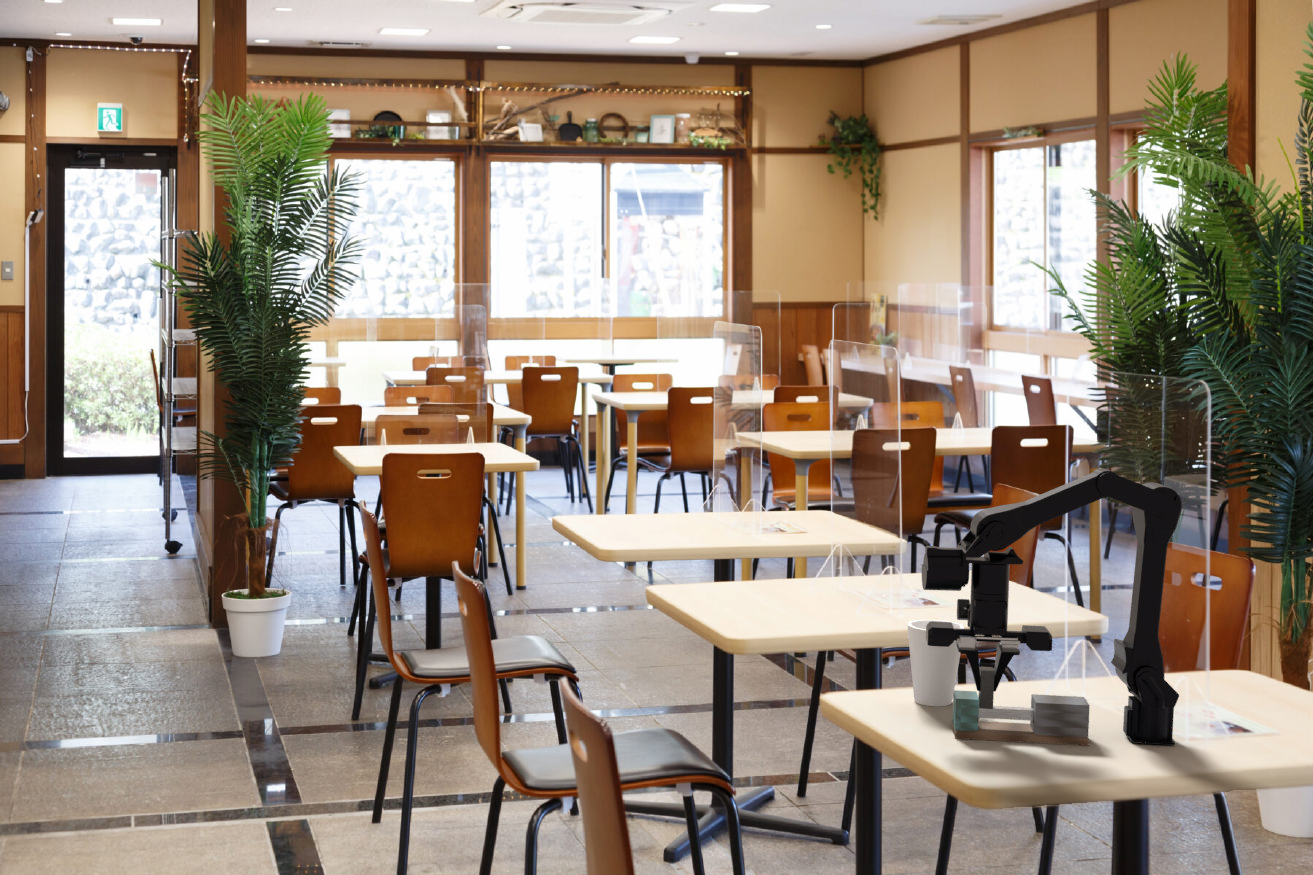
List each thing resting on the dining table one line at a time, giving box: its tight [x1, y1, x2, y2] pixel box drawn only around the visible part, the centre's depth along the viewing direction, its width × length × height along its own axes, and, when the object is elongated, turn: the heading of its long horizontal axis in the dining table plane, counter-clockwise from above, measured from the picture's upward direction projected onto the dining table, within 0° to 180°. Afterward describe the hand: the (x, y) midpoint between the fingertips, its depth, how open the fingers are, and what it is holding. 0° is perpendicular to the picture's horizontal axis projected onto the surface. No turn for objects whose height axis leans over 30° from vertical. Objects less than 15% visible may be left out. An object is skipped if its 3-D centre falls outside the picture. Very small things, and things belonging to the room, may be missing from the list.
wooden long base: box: [951, 689, 1090, 747], centre depth 222 cm, size 20×7×6 cm, turn 83°
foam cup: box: [906, 619, 965, 707], centre depth 241 cm, size 10×9×13 cm
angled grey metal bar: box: [978, 666, 1034, 721], centre depth 222 cm, size 13×2×8 cm, turn 83°
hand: (986, 690), depth 223 cm, fingers closed on angled grey metal bar, 2 cm apart
